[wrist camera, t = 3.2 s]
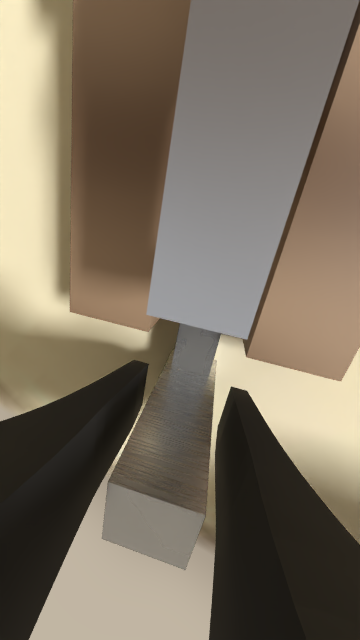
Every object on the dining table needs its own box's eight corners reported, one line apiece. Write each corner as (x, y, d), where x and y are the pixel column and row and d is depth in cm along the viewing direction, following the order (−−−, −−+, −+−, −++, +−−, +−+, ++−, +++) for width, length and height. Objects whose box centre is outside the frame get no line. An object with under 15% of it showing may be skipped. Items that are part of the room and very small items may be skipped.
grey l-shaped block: (206, 396, 10) (185, 569, 5) (165, 385, 11) (101, 538, 5) (250, 242, 8) (307, 242, 2) (196, 231, 8) (137, 207, 3)
